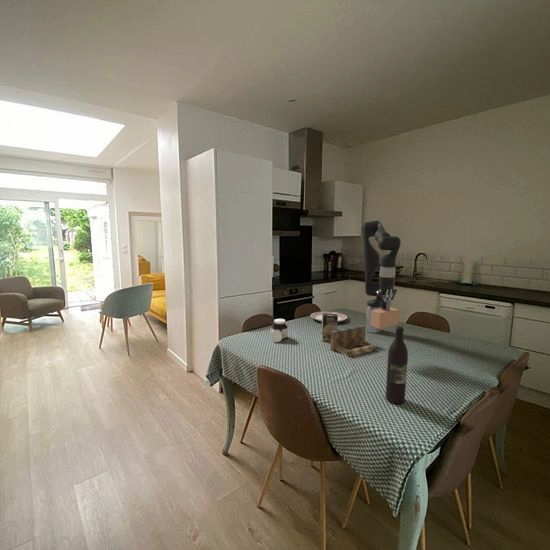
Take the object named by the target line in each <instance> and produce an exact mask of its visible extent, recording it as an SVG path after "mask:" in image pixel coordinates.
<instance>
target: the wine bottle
mask: <svg viewBox="0 0 550 550" xmlns="http://www.w3.org/2000/svg"><path fill="white" fill-rule="evenodd" d="M404 331H405V330H404V327H403V326H400V325H396V327H395V337H394V339H393V341H392V342H391V344H390V346H389V348H388V353H387V354H388V355H387V367H386V369H387V371H386V383H385V400H386V401H387V402H389V403H391V404H393V405H402V404H404V403H405V402H406V389H407V387H406V385H407V373H408V363H409V362H408V360H409V359H408V358H409V351H408V348H407V345H406V343H405V341H404Z"/></svg>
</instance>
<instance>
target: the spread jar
mask: <svg viewBox="0 0 550 550" xmlns="http://www.w3.org/2000/svg"><path fill="white" fill-rule="evenodd" d="M270 333H271V335H270V338H271V340H272V341H273V342H275V343H279V342H281V341H282V340H283V339H284V340H286V339H287V338H288V335H289V327H288V325H287V323H286V319H284V318H276V319H273V323H272V325H271V332H270ZM284 340H283V341H284Z"/></svg>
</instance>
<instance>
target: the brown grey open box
mask: <svg viewBox="0 0 550 550" xmlns="http://www.w3.org/2000/svg"><path fill="white" fill-rule="evenodd" d="M357 346H361V347H357ZM363 346H364V347H363ZM348 347H349V348H352V347H357V348H353V349H348ZM335 350H337V351H335ZM375 350H376V345H375V344H374V343H373V344H372V343H371V342H368V341H366V325H364V324H361V325H356V326H351V327H345V328H340V329H337V330H334V331H331V342H330V351H331V352H338V353H340V354H341V355H344V356H345V355H346V357H347V358H349V357H354V356H358V355H361V353H362V354H365V353H369V352H373V351H375ZM357 354H358V355H357ZM353 355H354V356H353Z"/></svg>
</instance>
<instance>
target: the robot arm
mask: <svg viewBox="0 0 550 550" xmlns="http://www.w3.org/2000/svg"><path fill="white" fill-rule="evenodd" d="M361 233H362V235H361V236H362V242H363V257H364V260H363V261H364V262H363V263H364V275H365V278H364V279H365V282H364V283H365V285H364V287H365V289H364V291H365V294H366V295H367V296H371V297H376V298H374V299H371V300H368V301H366V313H365V316H366V317H365V326H366V329H365V332H367V333H372V334H378V333H380V332H381V331H382V328H380V329H379V328H376V327H373V326H371V325H370V320H371V310H376V309H381V308H382V309H386V300H387V301H390V302H391V301H393V300H394V298H395V296H396V294H397V292H398V290H397V289H395V288H394V286H395V283H396V259H397V256H398V252H399V250H400V248H401V244H402V243H401V239H400V238H399V236H393V235H392V236H391V234H390V233H389V232H388V231H386V230H385V227H384V225H383V224H382V222H381V221H379V220H371V221H366V222H363V223H362V225H361ZM372 237H374V240H375V242H377V245H378V246H377V247H378V249H379V250H381V251H390V252H389V253H388V254H384V255H381V257H380V253H379V252H378V250H376V248H375V247H374V246H373V245H372V244H371V242H370V238H372ZM379 268H380V269H379ZM378 269H379V274H378V275H379V276H378V277H379V279H378V282H374V281H372V278H373V277H374V276H375V275H374V274H375V273H376V272H377V271H378Z"/></svg>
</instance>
